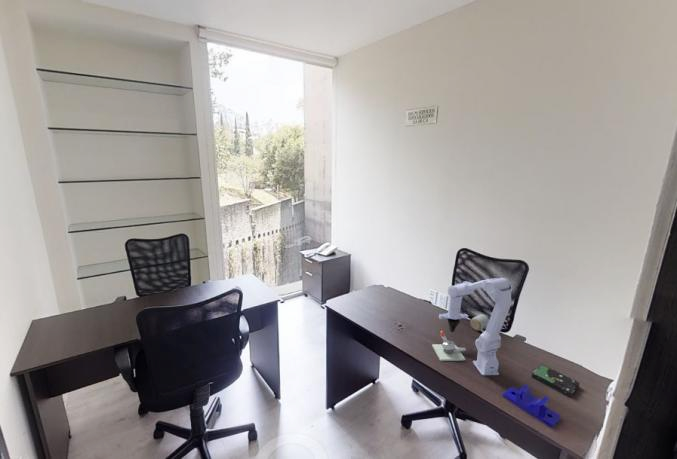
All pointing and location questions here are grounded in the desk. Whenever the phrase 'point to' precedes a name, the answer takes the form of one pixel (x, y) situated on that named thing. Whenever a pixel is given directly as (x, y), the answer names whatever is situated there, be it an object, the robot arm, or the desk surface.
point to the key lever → (447, 342)
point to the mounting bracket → (532, 405)
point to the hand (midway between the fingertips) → (451, 330)
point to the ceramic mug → (479, 322)
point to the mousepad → (400, 325)
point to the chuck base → (446, 356)
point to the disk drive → (555, 380)
